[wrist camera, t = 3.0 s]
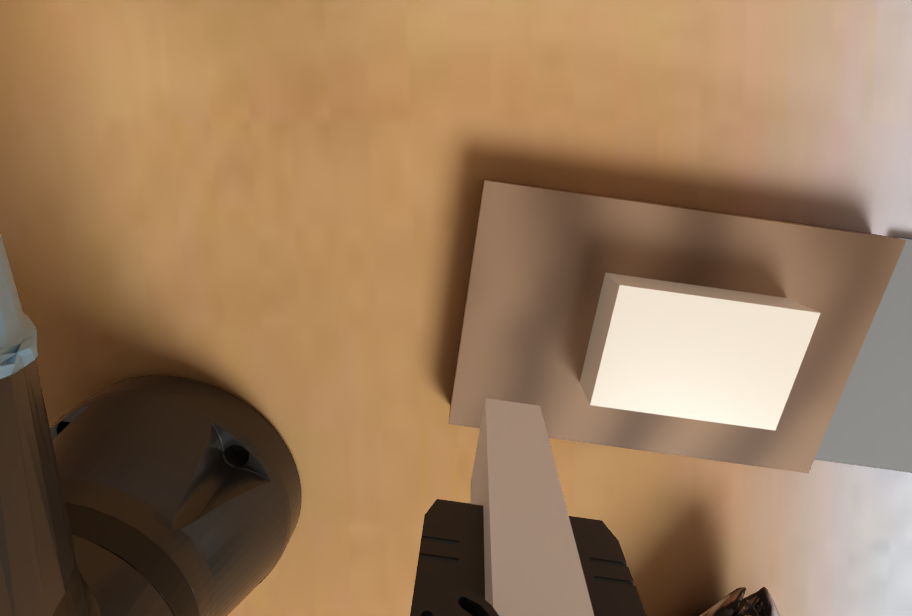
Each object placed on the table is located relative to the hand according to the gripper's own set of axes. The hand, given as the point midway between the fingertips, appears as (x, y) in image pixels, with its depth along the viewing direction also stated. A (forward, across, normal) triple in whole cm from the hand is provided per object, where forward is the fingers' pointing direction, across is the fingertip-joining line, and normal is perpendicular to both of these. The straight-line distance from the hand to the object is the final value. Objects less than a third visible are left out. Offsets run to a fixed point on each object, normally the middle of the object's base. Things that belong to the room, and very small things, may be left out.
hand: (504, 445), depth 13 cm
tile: (+12, +10, 0) cm, 15 cm away
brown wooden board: (+14, +9, 0) cm, 16 cm away
